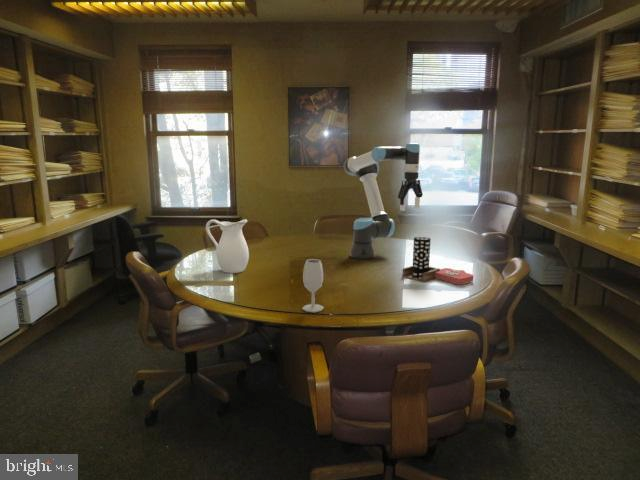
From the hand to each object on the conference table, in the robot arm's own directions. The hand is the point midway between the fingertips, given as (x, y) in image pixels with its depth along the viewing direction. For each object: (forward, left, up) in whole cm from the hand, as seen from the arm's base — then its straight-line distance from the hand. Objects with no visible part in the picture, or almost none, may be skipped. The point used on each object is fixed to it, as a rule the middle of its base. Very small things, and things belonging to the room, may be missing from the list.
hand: (409, 209), depth 268 cm
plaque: (+35, -8, -31) cm, 48 cm away
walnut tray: (+21, -17, -32) cm, 42 cm away
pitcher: (-58, -84, -32) cm, 107 cm away
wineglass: (+19, -92, -32) cm, 99 cm away
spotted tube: (+21, -18, -31) cm, 42 cm away
